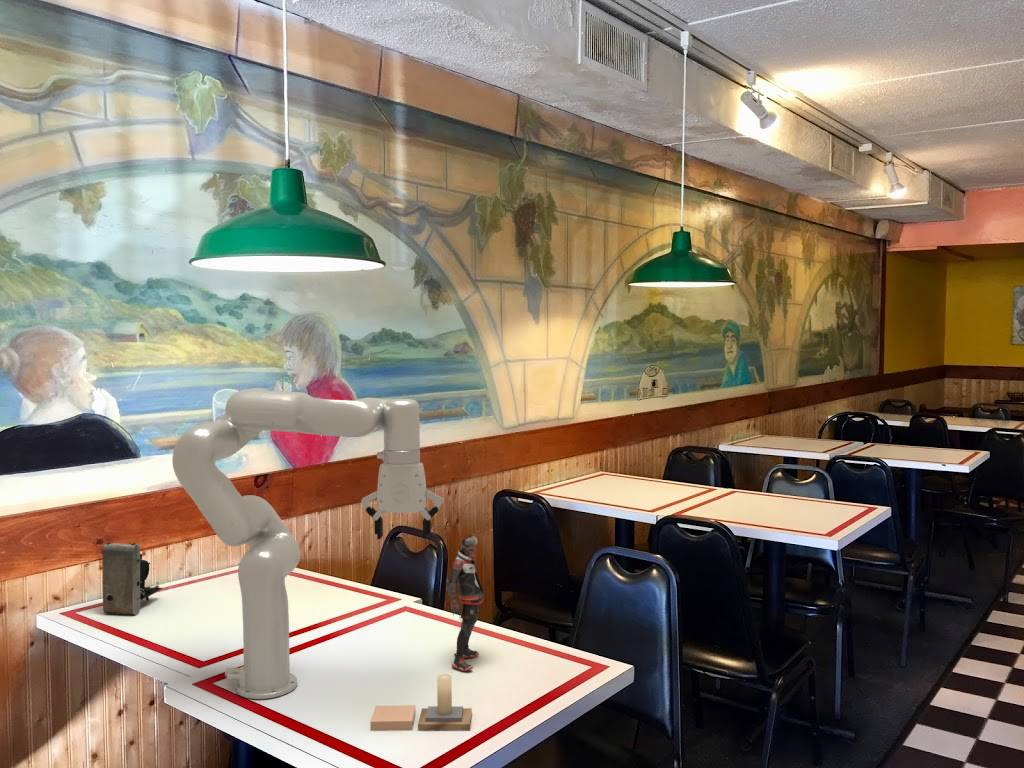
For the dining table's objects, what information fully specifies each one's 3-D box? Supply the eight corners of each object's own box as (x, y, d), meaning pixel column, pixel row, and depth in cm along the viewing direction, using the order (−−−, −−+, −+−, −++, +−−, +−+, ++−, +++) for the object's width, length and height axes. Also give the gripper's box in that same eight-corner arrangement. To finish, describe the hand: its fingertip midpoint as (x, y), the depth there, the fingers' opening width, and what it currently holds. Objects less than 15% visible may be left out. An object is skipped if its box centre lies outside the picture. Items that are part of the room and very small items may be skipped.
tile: (370, 721, 161) (412, 720, 161) (375, 705, 168) (415, 705, 168) (370, 732, 161) (412, 731, 161) (375, 716, 168) (415, 715, 168)
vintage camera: (165, 601, 243) (163, 533, 243) (134, 616, 228) (132, 544, 227) (134, 600, 244) (133, 532, 244) (101, 616, 229) (99, 543, 229)
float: (425, 721, 162) (425, 682, 162) (428, 710, 167) (427, 672, 167) (461, 721, 162) (461, 682, 162) (463, 710, 167) (463, 672, 167)
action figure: (463, 675, 187) (463, 543, 186) (432, 661, 195) (431, 535, 194) (497, 662, 195) (496, 535, 193) (465, 650, 203) (464, 527, 201)
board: (418, 730, 161) (418, 724, 161) (422, 714, 168) (421, 708, 168) (469, 730, 161) (469, 724, 161) (471, 714, 168) (471, 708, 168)
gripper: (357, 460, 173) (358, 542, 174) (441, 460, 173) (442, 541, 174) (364, 455, 180) (365, 533, 181) (444, 455, 180) (444, 533, 181)
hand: (402, 537), depth 177 cm, fingers open, 9 cm apart
